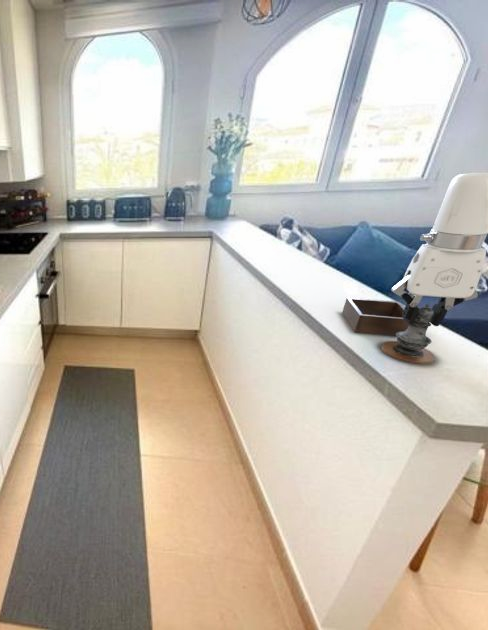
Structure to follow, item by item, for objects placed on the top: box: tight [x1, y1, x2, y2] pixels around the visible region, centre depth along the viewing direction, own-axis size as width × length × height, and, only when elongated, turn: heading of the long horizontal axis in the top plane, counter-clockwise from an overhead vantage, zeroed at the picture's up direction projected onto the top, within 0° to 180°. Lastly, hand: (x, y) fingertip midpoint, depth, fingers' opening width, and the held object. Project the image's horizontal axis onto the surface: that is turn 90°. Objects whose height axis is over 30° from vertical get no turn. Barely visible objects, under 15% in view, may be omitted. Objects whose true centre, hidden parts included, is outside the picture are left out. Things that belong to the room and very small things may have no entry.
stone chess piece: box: [393, 303, 434, 357], centre depth 76 cm, size 6×6×12 cm
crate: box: [341, 297, 409, 338], centre depth 91 cm, size 12×12×5 cm
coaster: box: [380, 340, 436, 365], centre depth 79 cm, size 9×9×1 cm
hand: (420, 321), depth 76 cm, fingers closed on stone chess piece, 3 cm apart
